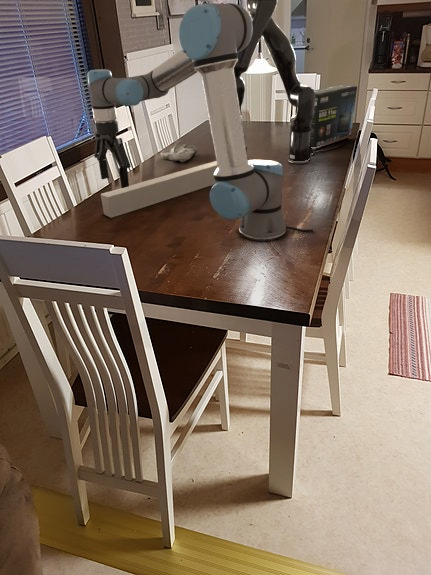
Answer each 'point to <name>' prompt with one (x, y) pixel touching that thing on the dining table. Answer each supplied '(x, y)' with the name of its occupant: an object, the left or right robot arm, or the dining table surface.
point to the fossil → (179, 152)
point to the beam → (157, 189)
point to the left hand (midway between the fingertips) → (114, 182)
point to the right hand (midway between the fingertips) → (234, 168)
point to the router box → (332, 114)
